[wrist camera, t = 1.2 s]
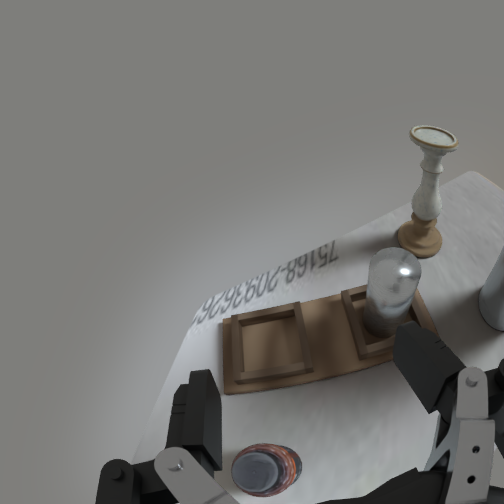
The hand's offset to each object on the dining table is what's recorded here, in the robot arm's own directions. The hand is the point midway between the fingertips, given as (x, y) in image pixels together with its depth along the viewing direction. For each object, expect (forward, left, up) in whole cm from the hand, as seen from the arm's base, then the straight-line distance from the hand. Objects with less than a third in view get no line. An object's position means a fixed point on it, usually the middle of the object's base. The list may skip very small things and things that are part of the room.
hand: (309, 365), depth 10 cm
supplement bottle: (+6, +5, -24) cm, 25 cm away
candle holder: (-24, -25, -24) cm, 43 cm away
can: (-11, -12, -23) cm, 28 cm away
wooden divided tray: (-3, -12, -24) cm, 27 cm away
